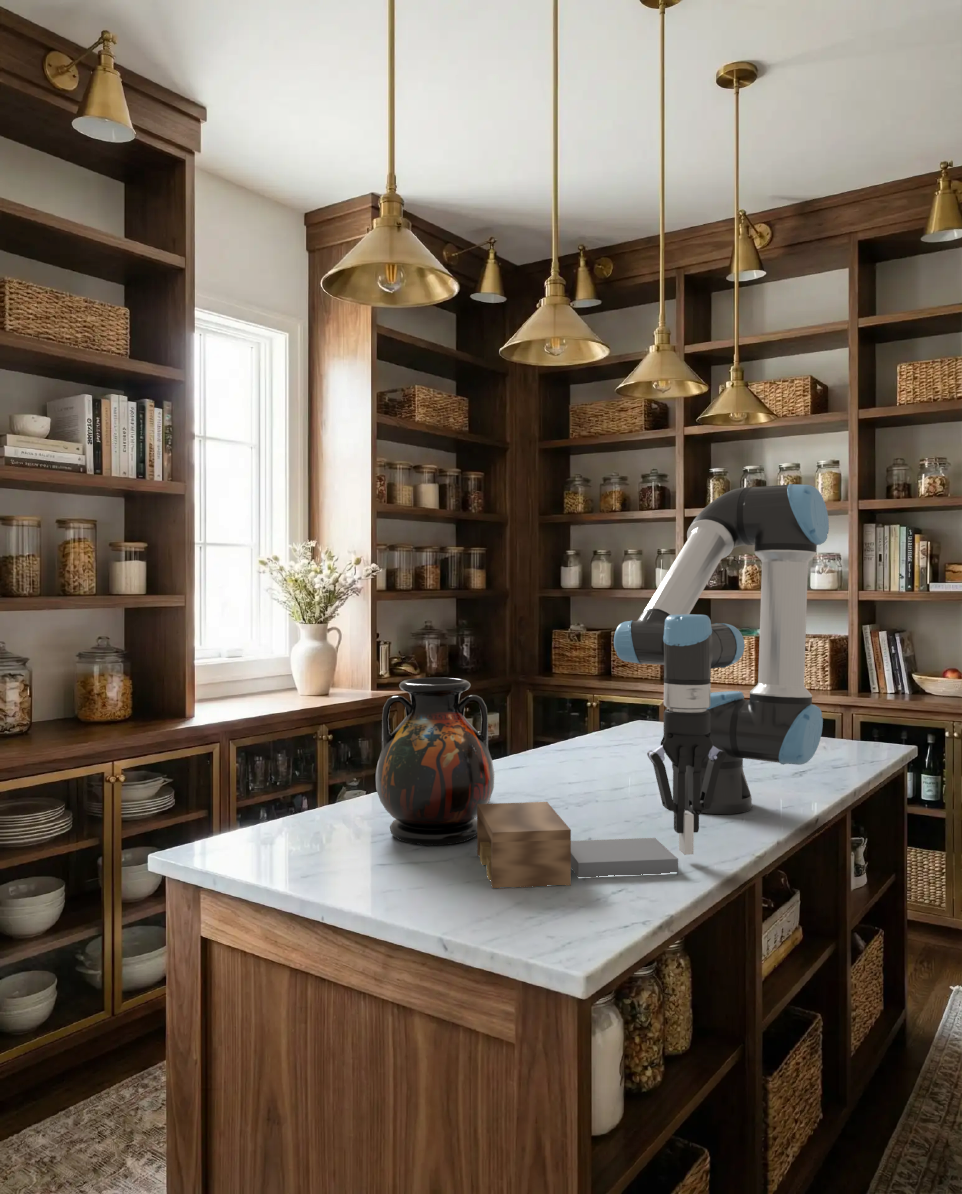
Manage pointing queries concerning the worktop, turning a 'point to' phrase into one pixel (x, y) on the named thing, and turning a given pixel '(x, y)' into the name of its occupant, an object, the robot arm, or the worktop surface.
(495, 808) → the walnut shelf
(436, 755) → the amphora vase
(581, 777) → the worktop surface
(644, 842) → the slate board
